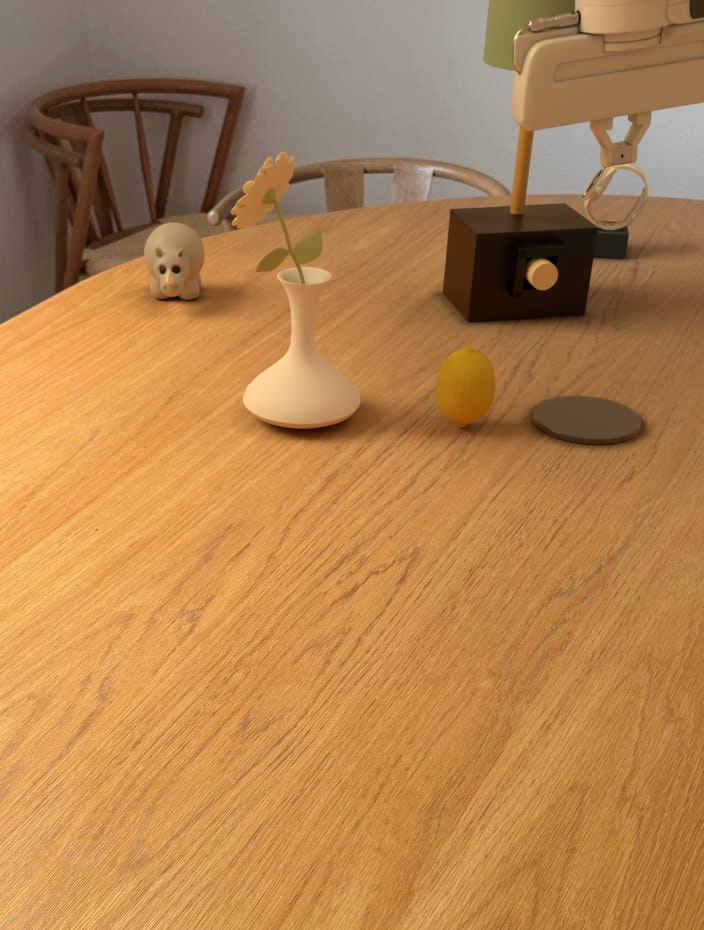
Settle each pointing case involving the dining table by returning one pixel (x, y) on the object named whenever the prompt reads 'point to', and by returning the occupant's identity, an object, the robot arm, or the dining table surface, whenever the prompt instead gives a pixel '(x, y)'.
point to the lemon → (465, 386)
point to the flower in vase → (294, 321)
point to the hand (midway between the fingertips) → (618, 163)
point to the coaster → (586, 420)
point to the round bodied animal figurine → (174, 261)
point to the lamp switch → (541, 273)
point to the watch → (610, 233)
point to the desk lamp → (517, 218)
